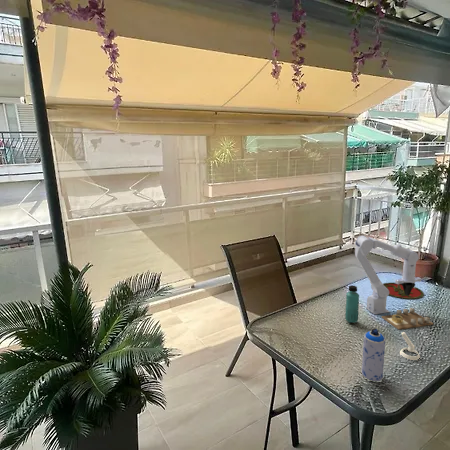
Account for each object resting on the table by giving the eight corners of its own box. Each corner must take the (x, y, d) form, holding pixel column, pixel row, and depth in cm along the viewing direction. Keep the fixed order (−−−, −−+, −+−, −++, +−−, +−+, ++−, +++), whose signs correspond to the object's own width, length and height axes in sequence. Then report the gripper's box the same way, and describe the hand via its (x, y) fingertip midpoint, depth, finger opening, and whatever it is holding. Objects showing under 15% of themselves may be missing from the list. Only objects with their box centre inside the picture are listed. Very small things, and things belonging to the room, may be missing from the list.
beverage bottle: (350, 326, 157) (351, 289, 153) (342, 320, 163) (343, 285, 159) (360, 324, 159) (362, 288, 155) (352, 318, 165) (354, 283, 161)
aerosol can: (369, 367, 126) (372, 322, 122) (387, 378, 119) (391, 331, 115) (356, 373, 122) (359, 328, 118) (374, 385, 115) (377, 337, 111)
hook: (388, 335, 139) (403, 328, 137) (404, 359, 136) (419, 353, 134) (390, 340, 132) (405, 333, 130) (407, 366, 129) (423, 360, 127)
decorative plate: (409, 282, 207) (432, 298, 183) (409, 283, 208) (432, 299, 183) (372, 282, 209) (390, 298, 184) (372, 284, 209) (390, 300, 184)
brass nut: (404, 322, 157) (405, 318, 156) (397, 323, 156) (397, 319, 155) (397, 318, 162) (397, 313, 161) (390, 319, 161) (390, 314, 160)
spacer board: (398, 329, 152) (399, 323, 151) (381, 317, 164) (381, 311, 164) (433, 324, 156) (433, 318, 155) (413, 313, 168) (414, 307, 167)
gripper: (402, 275, 161) (400, 299, 164) (426, 272, 164) (424, 296, 166) (393, 270, 168) (391, 294, 171) (416, 268, 171) (414, 291, 173)
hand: (407, 294), depth 169 cm, fingers closed
